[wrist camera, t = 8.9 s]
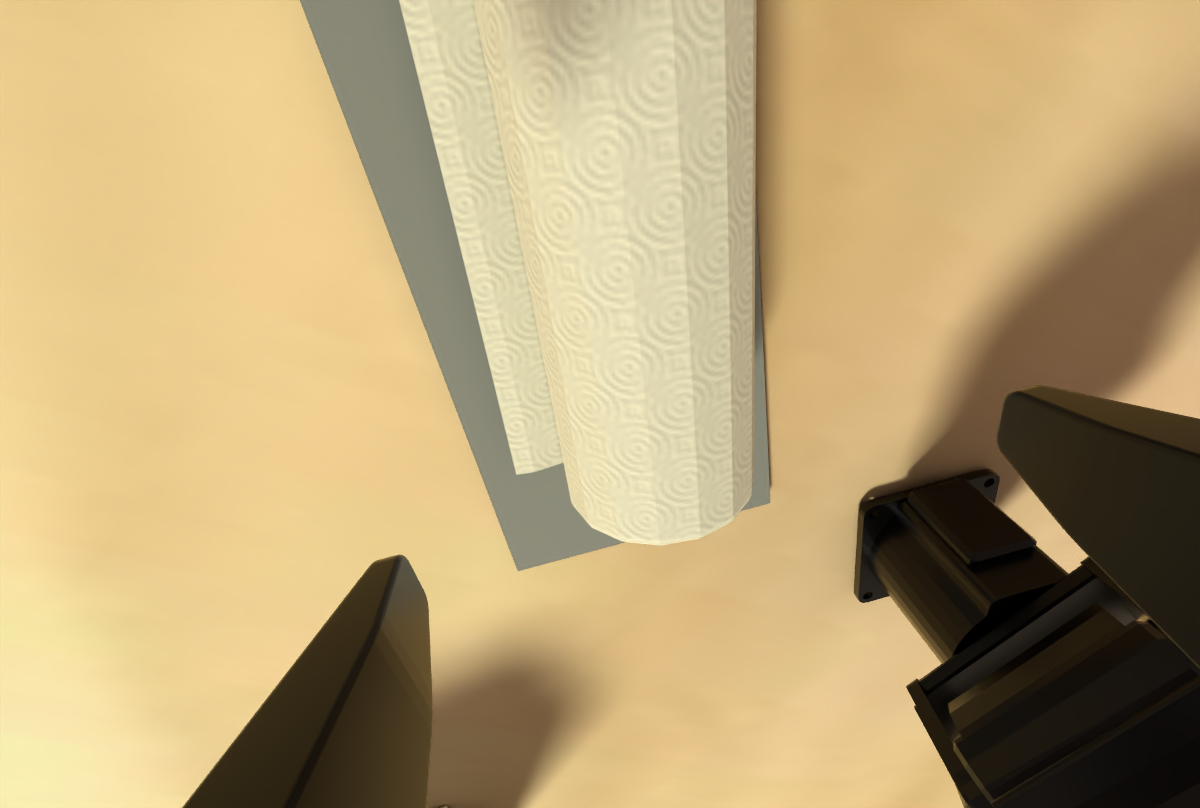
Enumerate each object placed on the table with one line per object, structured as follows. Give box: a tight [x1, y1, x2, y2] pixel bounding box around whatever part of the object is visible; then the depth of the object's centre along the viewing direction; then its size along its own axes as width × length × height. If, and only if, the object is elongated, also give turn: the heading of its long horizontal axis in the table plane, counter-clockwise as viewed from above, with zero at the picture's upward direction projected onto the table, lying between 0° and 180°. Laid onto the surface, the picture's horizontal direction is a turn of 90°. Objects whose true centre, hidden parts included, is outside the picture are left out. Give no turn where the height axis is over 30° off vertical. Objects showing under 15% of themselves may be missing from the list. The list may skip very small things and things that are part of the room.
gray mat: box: [300, 0, 770, 571], centre depth 18 cm, size 24×11×1 cm, turn 11°
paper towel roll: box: [399, 0, 757, 546], centre depth 14 cm, size 7×6×21 cm
